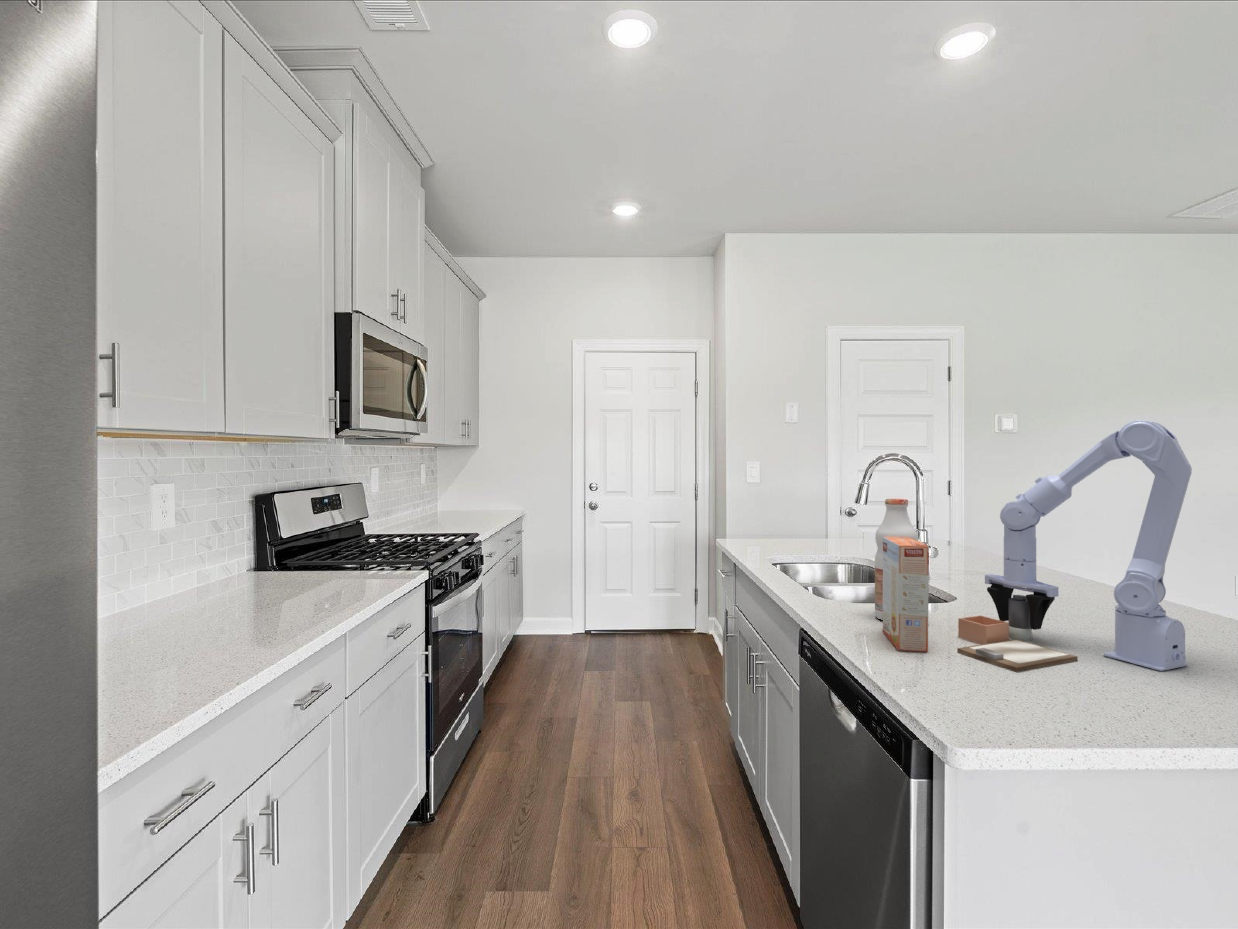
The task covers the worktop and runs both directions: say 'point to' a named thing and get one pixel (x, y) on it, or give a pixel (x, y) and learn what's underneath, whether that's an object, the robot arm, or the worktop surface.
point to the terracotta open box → (983, 629)
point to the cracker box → (905, 593)
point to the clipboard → (1017, 655)
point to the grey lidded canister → (1019, 618)
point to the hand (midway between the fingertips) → (1019, 624)
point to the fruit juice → (891, 526)
